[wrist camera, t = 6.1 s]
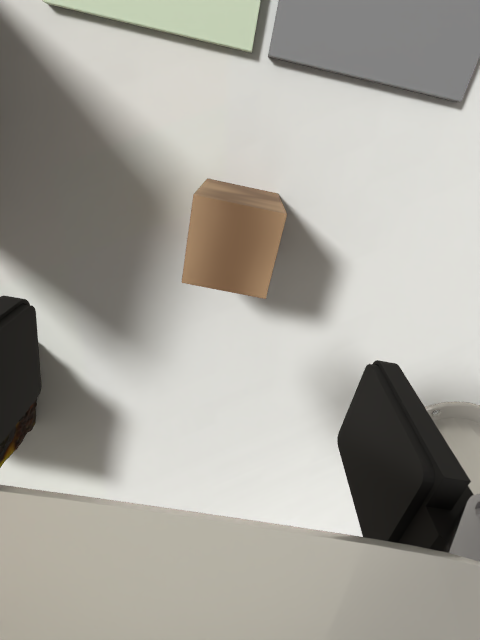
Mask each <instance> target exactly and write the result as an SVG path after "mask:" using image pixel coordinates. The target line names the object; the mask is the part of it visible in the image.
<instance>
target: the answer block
mask: <svg viewBox="0 0 480 640" xmlns="http://www.w3.org/2000/svg"><path fill="white" fill-rule="evenodd" d="M286 216H287V213H286V211H285V208H284V206H283V204H282V201H281V199H280V197H279V194H277V193H273V192H268V191H263V190H259V189H254V188H249V187H245V186H240V185H235V184H231V183H226V182H221V181H217V180H212V179H207V180H206V181H205V182H204V183H203V184H202V185H201V186H200V188H199V189H198V190H197V191H196V192H195V193H194V195H193V202H192V210H191V217H190V224H189V232H188V239H187V247H186V254H185V261H184V269H183V276H182V283H186V284H191V285H197V286H202V287H207V288H212V289H217V290H223V291H228V292H233V293H238V294H243V295H248V296H254V297H259V298H264V299H266V295H267V291H268V287H269V283H270V279H271V275H272V272H273V268H274V264H275V260H276V256H277V252H278V248H279V244H280V240H281V236H282V232H283V228H284V224H285V220H286Z"/></svg>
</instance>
